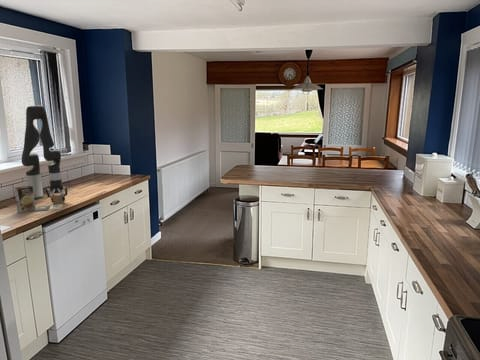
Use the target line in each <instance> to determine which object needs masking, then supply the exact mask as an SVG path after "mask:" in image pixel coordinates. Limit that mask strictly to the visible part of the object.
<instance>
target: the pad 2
mask: <svg viewBox="0 0 480 360" xmlns="http://www.w3.org/2000/svg"><path fill="white" fill-rule="evenodd" d="M63 204H64V203H63ZM63 204H57V205H53V204H52V205H51V204H50V207H49V209H48V211H53V210H54V211H55V210H56V211H57V210H62V208H63V206H64V205H63Z"/></svg>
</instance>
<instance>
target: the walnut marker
mask: <svg viewBox="0 0 480 360" xmlns="http://www.w3.org/2000/svg"><path fill="white" fill-rule="evenodd" d="M62 197H63V196H62V195H61V194H60V193H54V195H53V196H52V199H53V202H52V205H59V204H64V202H65V201H64V202H63V198H62Z"/></svg>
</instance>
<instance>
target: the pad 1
mask: <svg viewBox="0 0 480 360" xmlns="http://www.w3.org/2000/svg"><path fill="white" fill-rule="evenodd" d="M50 207H51V204H50V205H42V206H38V207H36V210H34V211H35V213H37V212H45V211H49V208H50Z"/></svg>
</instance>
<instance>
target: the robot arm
mask: <svg viewBox="0 0 480 360" xmlns="http://www.w3.org/2000/svg"><path fill="white" fill-rule="evenodd" d="M48 119H49V118H48V115H47V111H46V108H45V107H44V106H43V105H29V106H27V107H26V110H25V120H26V121H25V132H24V140H23V141H24V144H23V148H22V149H23V150H22V152H21V153H22V154H21V164H22V166H24V167H31V166H32V168H30V169H28V170H27V171H26V172H25V176H26V181H27V186H32V187H33V193H34V199H36V198H37V199H38V198H41V197H42V198H43V196H44V192H43V182H42V176H41V168H40V157H39V154H37V153H36V152H35V153H34V152H33V153H31V152H32V151H34V149H35V148H36V147H37V146H38V144H39V143H40V142H41V144H42V150H43V154H42V155H43V158H44V160H45V161H46V162H52V163H51V164H48V165H47V169H48V180H49V188H46V189H45V194H46V195H47V198H50V201H51V203H53V199H52V196H53V195H55V194H61V195H62V196H63V197H62V198H63V202H65V201H66V196H67V195H68V186H63V180H62V174H61V169H60V165H61V160H62V154H61V151H59V150H57V149H53V150H50V149H51V148H54V146H55V142H54V140H53V136H52V133H51V131H50V126H49V125H50V124H49V120H48ZM35 120H41V129H40V131H39V130H38V129H37V127H36V125H35V124H34V121H35ZM63 190H64V192H63ZM50 191H51V194H50Z"/></svg>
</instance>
